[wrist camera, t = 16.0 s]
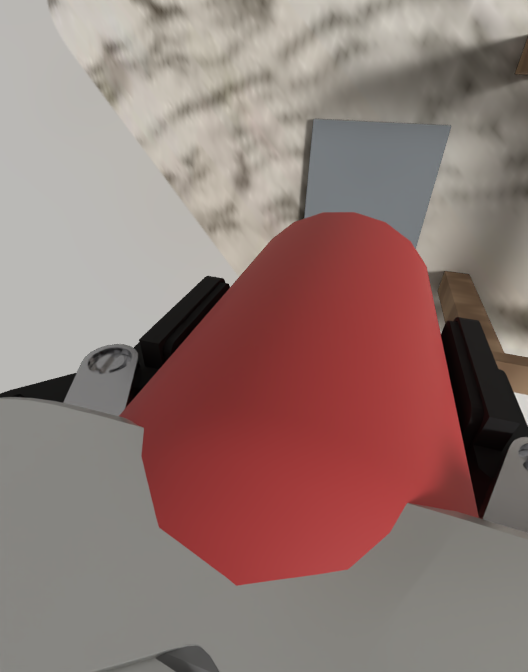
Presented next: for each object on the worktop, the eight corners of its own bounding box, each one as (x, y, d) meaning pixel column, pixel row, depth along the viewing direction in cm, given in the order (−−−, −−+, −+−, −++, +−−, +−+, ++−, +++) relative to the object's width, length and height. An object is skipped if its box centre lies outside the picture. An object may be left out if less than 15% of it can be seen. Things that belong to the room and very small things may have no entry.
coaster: (450, 125, 25) (451, 125, 25) (412, 255, 31) (412, 258, 30) (314, 118, 27) (313, 118, 27) (303, 241, 33) (301, 243, 33)
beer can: (298, 171, 12) (-128, 493, 2) (473, 262, 11) (859, 1025, 2) (237, 315, 16) (-2, 648, 6) (365, 383, 16) (325, 825, 6)
